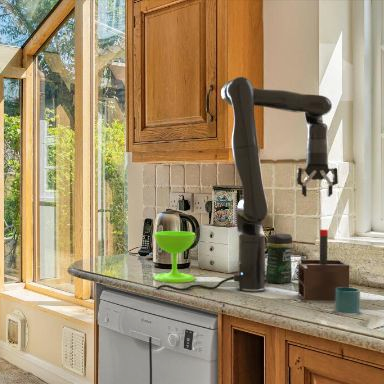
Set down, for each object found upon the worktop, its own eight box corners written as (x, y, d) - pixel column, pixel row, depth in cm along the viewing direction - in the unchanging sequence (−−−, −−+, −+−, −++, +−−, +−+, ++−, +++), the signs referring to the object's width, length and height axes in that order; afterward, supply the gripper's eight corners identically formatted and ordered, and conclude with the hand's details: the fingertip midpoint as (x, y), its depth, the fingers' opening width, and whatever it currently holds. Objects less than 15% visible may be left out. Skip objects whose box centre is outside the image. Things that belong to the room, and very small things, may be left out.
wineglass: (202, 281, 228) (202, 234, 227) (163, 283, 222) (164, 236, 222) (184, 274, 243) (184, 230, 242) (147, 276, 237) (148, 231, 237)
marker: (320, 266, 195) (320, 230, 195) (318, 265, 198) (319, 229, 197) (328, 266, 195) (328, 230, 194) (326, 265, 197) (326, 229, 197)
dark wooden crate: (304, 301, 192) (304, 264, 191) (298, 294, 203) (298, 259, 202) (348, 302, 190) (349, 265, 190) (340, 295, 201) (340, 260, 201)
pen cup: (337, 315, 174) (338, 291, 174) (332, 309, 181) (332, 286, 181) (362, 315, 173) (362, 292, 173) (355, 310, 180) (356, 287, 180)
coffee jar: (278, 284, 220) (279, 235, 220) (262, 281, 227) (262, 233, 226) (295, 282, 226) (296, 233, 225) (279, 279, 232) (280, 231, 232)
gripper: (335, 152, 218) (334, 196, 219) (295, 152, 220) (295, 196, 220) (340, 151, 211) (339, 197, 211) (299, 151, 212) (298, 196, 213)
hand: (316, 196), depth 216 cm, fingers open, 8 cm apart
